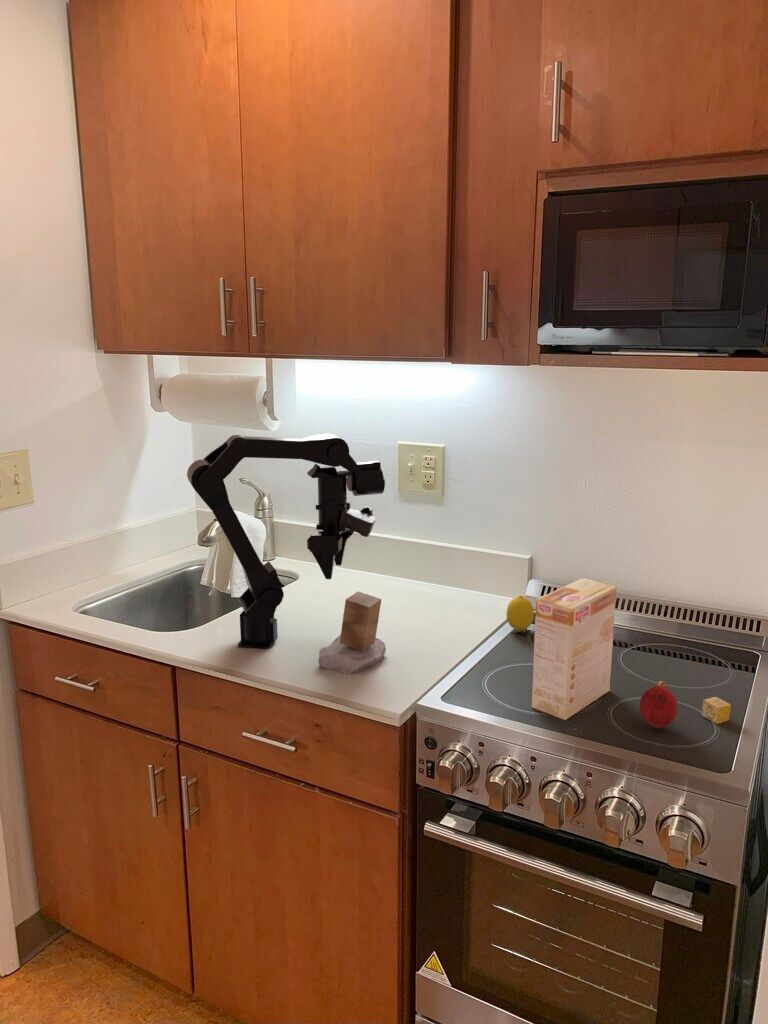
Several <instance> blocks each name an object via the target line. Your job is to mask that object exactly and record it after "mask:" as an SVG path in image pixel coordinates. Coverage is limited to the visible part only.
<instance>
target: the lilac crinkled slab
mask: <svg viewBox="0 0 768 1024" xmlns="http://www.w3.org/2000/svg"><path fill="white" fill-rule="evenodd" d="M340 637H341V634H339V635H338V636H337V637H336V638H335V639H334V640H333V641H332V643H331V644H329V645H328V646H325V647H324V646H323V647H321V648H320V649H319V653H318V664H319V666H320V668H321V669H325V670H331V671H338V672H341V673H345V674H348V675H352V674H355V673H357V672H360V671H361V670H363V669H366V668H368V667H371V666H373V665H375V664H377V663H379V662H382V660H383V657H384V655H385V653H386V649H387V647H386V644H385V643H384V641H383V640H381V639H380V638H378V637H376V639H375V642H374V643H373V644H372V645H371V646H369V647H368V648H367V649H365V650H364V651H360V650H358V649H355V648H352V647H349V646H347V645H344V644H341V643H340Z"/></svg>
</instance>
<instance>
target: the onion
mask: <svg viewBox="0 0 768 1024" xmlns="http://www.w3.org/2000/svg"><path fill="white" fill-rule="evenodd" d="M665 685H666V683H665V681H664V680H659V681H657V684H656V685H655V686H652V687H650V688H649V689H647V690H646V691H645V692H644V693H643V694H642V695H641V697H640V702H639V711H640V715H641V716H642V718H643V720H645V722H647V724H649V725H650V726H652V727H653V728H655V729H661V728H663V727H666V726H668V725H669V724H671V723H672V722H673V721H674V720H675V719H676V718H677V716H678V711H679V707H678V700H677V698H676V696H675V695H674V693H673V692H672V691H671V690H670V689H669V688H667V687H666V686H665Z"/></svg>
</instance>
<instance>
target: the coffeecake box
mask: <svg viewBox="0 0 768 1024" xmlns="http://www.w3.org/2000/svg"><path fill="white" fill-rule="evenodd" d="M617 589H618V587H617V586H616V585H611V584H607V583H602V582H600V581H596V580H594V579H589V578H584V577H583V578H580V579H578V580H575V581H573V582H571V583H569V584H567V585H564V586H562V587H559V588H558V589H555V590H553V591H552V592H549V593H547V594H545V595H542V596H541V597H538V598H536V599H535V615H534V617H535V618H534V619H535V620H534V641H533V643H534V644H533V646H534V647H533V666H532V671H533V672H532V687H531V688H532V690H531V691H532V694H531V708H533V709H535V710H537V711H541V712H542V713H545V714H546V713H547V714H549V715H552V716H553V717H556V718H558V719H561V720H563V721H566V720H568V719H569V718H571V717H572V716H574V715H575V714H577V713H578V712H579V711H581V710H583V709H584V708H586V707H587V706H588V705H590V704H592V703H593V702H595V701H596V700H598V699H600V698H601V697H602V696H604V695H605V694H607V693H608V692H610V690H611V688H610V687H611V673H612V657H613V646H614V644H613V643H614V630H615V629H614V628H615V611H616V598H617Z"/></svg>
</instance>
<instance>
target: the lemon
mask: <svg viewBox="0 0 768 1024" xmlns="http://www.w3.org/2000/svg"><path fill="white" fill-rule="evenodd" d="M534 617H535V614H534V607H533V604H532V602H531V601H530V600H529V599H528V598H527V597H524V595H521V594H520V595H519V596H516V597H514V598H512V599H511V600H510V601H509V602H508V604H507V608H506V621H507V622H508V625H509V627H511V628H512V629H514V630H516V631H517V632H518V633H521V632H522V631H524V630H527V629H528V628H529V627H531V625H532V623H533V621H534Z"/></svg>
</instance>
